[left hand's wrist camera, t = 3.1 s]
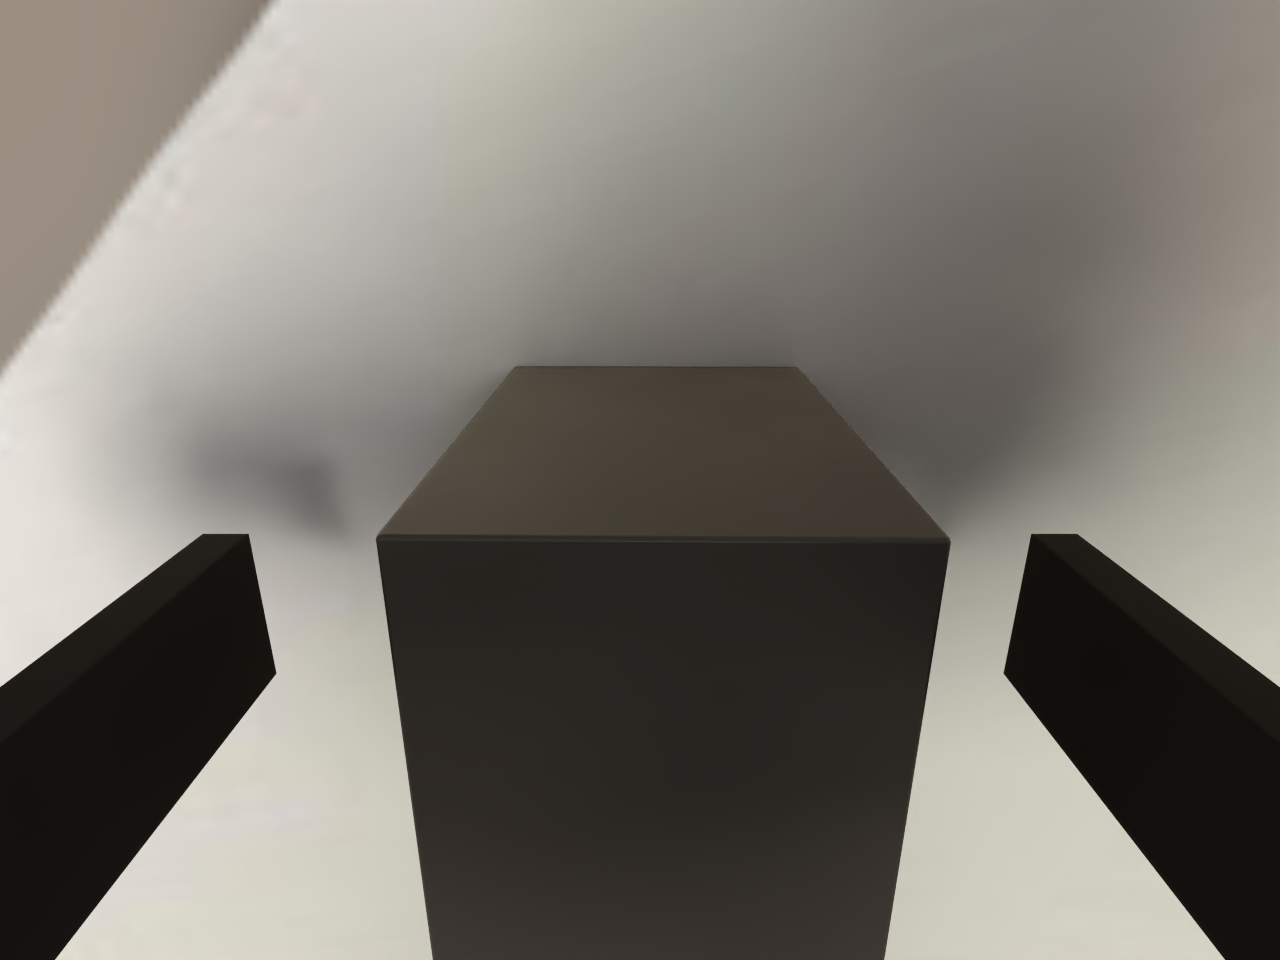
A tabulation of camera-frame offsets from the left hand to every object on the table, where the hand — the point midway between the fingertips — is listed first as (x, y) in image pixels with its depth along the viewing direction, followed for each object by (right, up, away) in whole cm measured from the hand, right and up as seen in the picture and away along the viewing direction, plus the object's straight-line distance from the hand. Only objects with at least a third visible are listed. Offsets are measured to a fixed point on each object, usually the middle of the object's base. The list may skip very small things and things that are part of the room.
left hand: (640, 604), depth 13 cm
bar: (0, -7, +7) cm, 10 cm away
